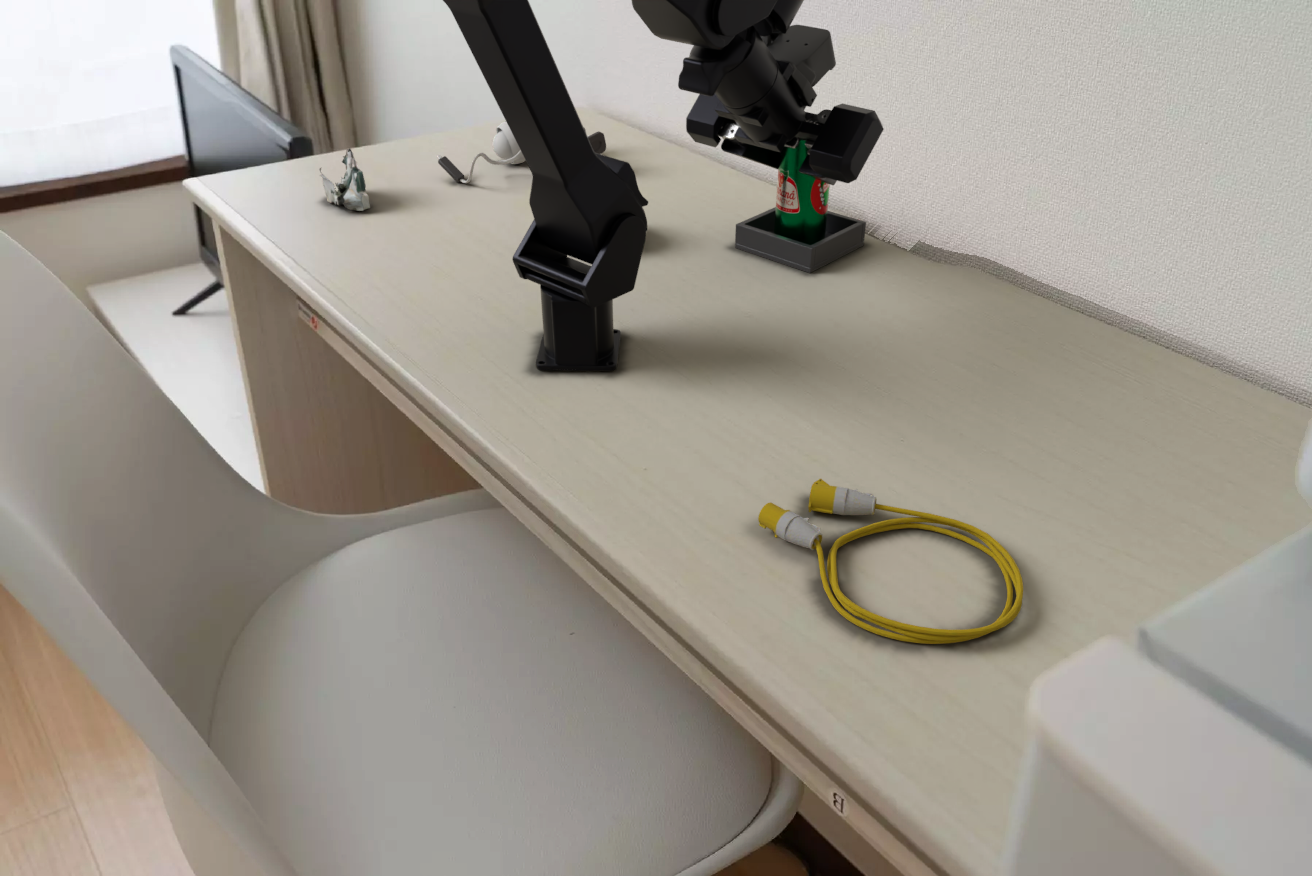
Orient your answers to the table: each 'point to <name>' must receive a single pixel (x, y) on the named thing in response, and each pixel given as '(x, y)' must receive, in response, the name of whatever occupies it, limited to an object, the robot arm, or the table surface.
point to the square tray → (763, 242)
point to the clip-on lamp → (508, 152)
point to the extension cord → (864, 504)
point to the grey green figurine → (348, 186)
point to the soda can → (799, 199)
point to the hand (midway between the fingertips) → (812, 174)
